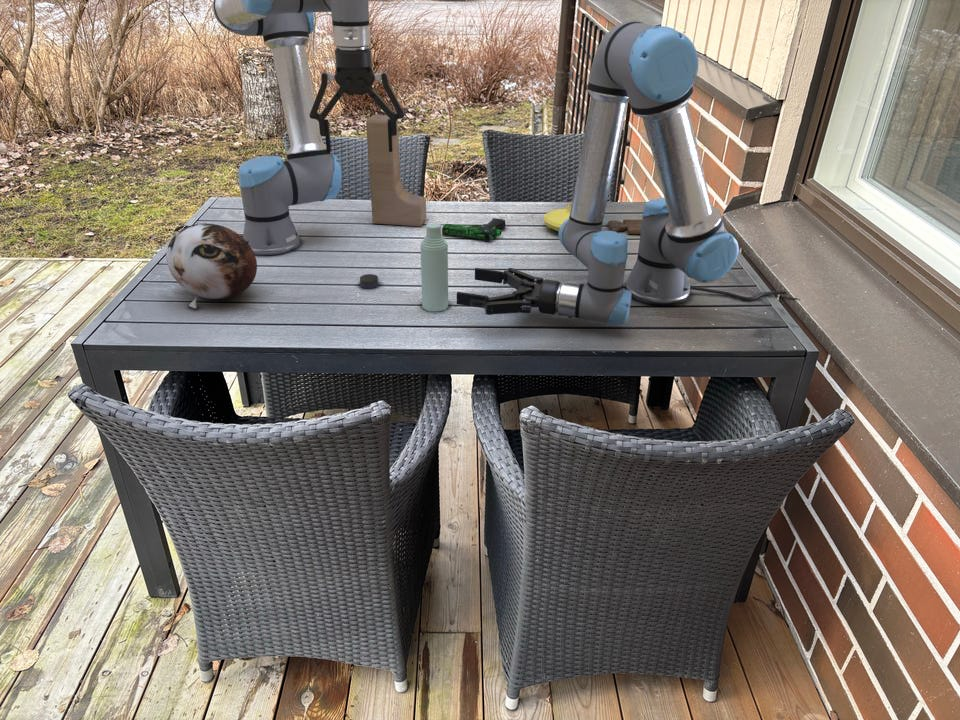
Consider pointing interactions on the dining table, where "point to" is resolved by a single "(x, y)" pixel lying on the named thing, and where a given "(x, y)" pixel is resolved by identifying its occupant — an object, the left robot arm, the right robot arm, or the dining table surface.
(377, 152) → the decorative block
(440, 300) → the bottle
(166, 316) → the dining table surface
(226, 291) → the cat face balloon
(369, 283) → the cap
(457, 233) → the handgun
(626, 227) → the dark wooden board
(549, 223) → the yellow low dome
